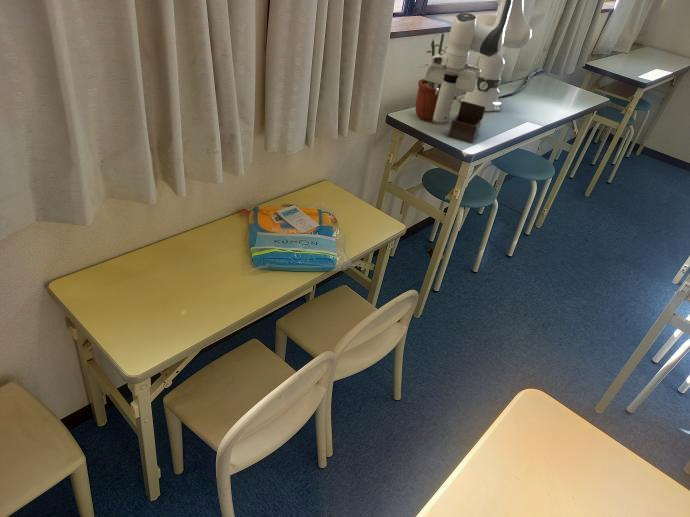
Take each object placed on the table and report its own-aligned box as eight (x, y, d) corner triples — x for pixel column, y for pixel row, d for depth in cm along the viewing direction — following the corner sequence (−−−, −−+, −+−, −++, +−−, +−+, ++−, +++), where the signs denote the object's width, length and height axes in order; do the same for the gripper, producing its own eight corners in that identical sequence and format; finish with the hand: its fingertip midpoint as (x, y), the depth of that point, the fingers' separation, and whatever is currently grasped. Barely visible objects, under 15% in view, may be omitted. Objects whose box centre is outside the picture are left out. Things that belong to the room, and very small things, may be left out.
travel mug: (448, 126, 196) (461, 76, 184) (432, 122, 197) (444, 72, 184) (448, 120, 201) (461, 71, 189) (432, 117, 202) (445, 68, 189)
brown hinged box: (454, 128, 207) (462, 100, 200) (477, 134, 205) (485, 106, 197) (448, 136, 199) (455, 108, 192) (471, 143, 196) (480, 114, 189)
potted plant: (434, 126, 206) (455, 39, 185) (401, 116, 211) (418, 29, 190) (448, 116, 218) (470, 32, 197) (417, 106, 224) (435, 24, 203)
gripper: (483, 65, 184) (473, 101, 192) (432, 53, 189) (424, 88, 198) (480, 69, 179) (469, 106, 188) (427, 56, 185) (419, 92, 193)
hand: (446, 97), depth 193 cm, fingers closed on travel mug, 6 cm apart
